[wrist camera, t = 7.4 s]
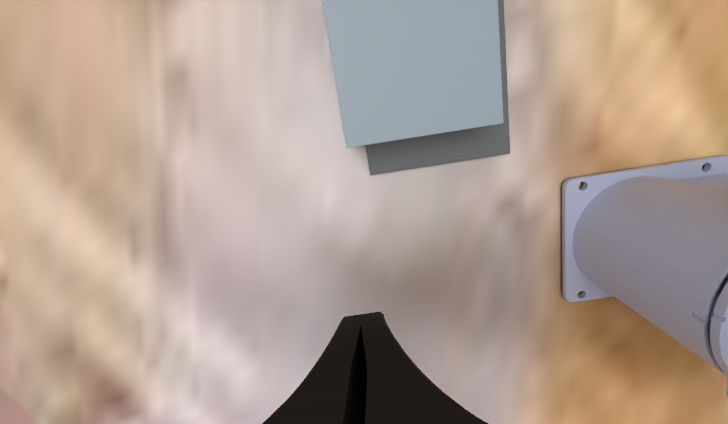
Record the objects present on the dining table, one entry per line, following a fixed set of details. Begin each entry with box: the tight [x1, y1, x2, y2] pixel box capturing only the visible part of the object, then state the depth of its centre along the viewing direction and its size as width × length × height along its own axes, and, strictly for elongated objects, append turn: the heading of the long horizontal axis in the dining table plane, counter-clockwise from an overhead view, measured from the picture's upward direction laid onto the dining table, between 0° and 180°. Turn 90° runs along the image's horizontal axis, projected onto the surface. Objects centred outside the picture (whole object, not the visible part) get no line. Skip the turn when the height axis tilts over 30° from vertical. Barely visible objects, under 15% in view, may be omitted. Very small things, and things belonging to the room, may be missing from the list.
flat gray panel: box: [366, 0, 510, 175], centre depth 18 cm, size 8×14×1 cm, turn 9°
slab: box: [322, 0, 504, 148], centre depth 16 cm, size 4×10×7 cm
